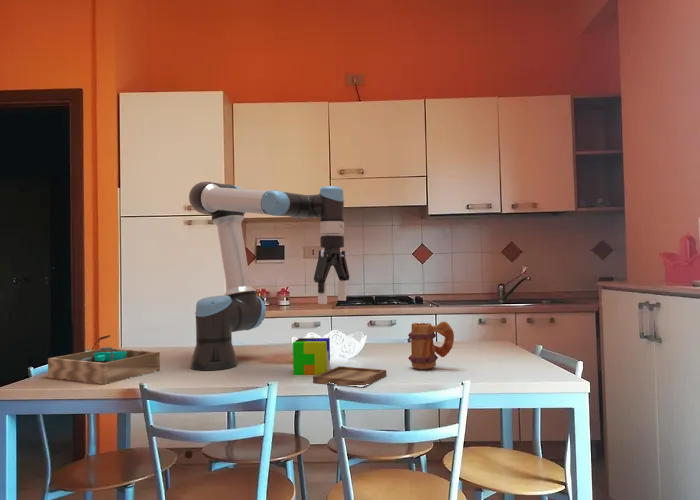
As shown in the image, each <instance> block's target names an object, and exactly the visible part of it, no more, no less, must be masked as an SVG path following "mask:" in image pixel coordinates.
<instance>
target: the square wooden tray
mask: <svg viewBox="0 0 700 500" xmlns="http://www.w3.org/2000/svg"><path fill="white" fill-rule="evenodd" d="M386 377H387V370H386V369H380V368H379V369H378V368H365V367H352V366H336V367H334V368H330V370H328V371H326V372H323V373H321V374H318V375H316V376H312V384H322V385H327V384H326V383H329V382H330V383H334V384H337V385H336V386H340V385H366V384H370V383H372V384H373V382H374V383H376V382H377V380H378V381H380V380H382V379H383V378H386ZM381 378H382V379H381ZM379 379H380V380H379ZM375 381H376V382H375ZM370 385H371V384H370Z"/></svg>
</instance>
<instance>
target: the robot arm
mask: <svg viewBox="0 0 700 500" xmlns="http://www.w3.org/2000/svg"><path fill="white" fill-rule="evenodd" d="M188 202H189V204H190V206H191V207H192V209H194V211H195V212H198V213H199V214H203V215H209V216H210V215H211V221H212V224H213V225H215V226H216V227H217V232H218V239H219V244H220V245H219V246H220V252H221V253H220V254H221V258H222V259H221V260H222V265H223V271H224V279H225V284H226V292H225V293H224V294H222V295H214V296H212V295H211V296H207V297H203V298H201V299H199V300H198V301H197V302H196V304H195V314H194V315H195V335H196V336H195V337H196V339H195V347H194V351H193V354H192V359H191V360H190V367H191V370H195V371H221V370H226V369H230V368H231V369H232V368H234V367H236V366H238V357H237V355H236V352H235V349H234V345H233V341H232V340H233V339H232V335H233V334H232V333H235V332H236V333H237V332H243V331H250V330H252V329H253V330H254V329H256V328H258V327H259V326H261V324H262V323H263V321H264V320H265V317H266V312H267V311H266V304H265V302H264V300H262V298H261V297H259V296H258V294H257V290H256V289H255V288H254V287H252V285H251V278H250V277H251V276H250V272H249V271H250V270H249V265H248V259H247V258H248V257H247V253H246V246H245V241H244V236H243V235H244V234H243V228H242V222H243V220H244V219H245V216H244V215H245V214H246V213H247V214H256V215H257V214H260V215H268V216H274V217H275V216H276V217H289V218H293V219H297V220H304V219H305V220H306V219H317V218H319V219H320V220H319V221H320V226H319V227H320V228H319V229H320V231H319V233H320V235H321V236H320V239H319V240H320V241H319V242H320V248H323V250H321V249H320V250H319V251H318V258H317V262H316V267H315V271H314V274H313V281H314V283H317V303H318V305H327V304H328V283H327V278H328V275H329V273H330V270H331V268H332V266H333V267H334V270H335V273H336V275H337V277H338V279H339V280H337V301H341V302H342V301H344V302H346V301H347V281H350V273H349V268H348V264H347V259H346V251H345V250H341V249H343V248H344V247H345V237H344V234H345V232H344V231H345V229H344V228H345V222H344V221H345V220H344V213H345V212H344V208H345V207H344V206H345V199H344V189H343V188H342V187H340V186H335V185H334V186H333V185H332V186H331V185H329V186H327V185H326V186H322V187H320V189H319V193H318V194H301V193H294V192H289V191H288V192H286V191H281V190H277V189H276V190H264V189H249V188H242V187H239V186H237V185H234V184H226V183H225V184H224V183H218V182H211V181H201V182H198V183H196V184H194V185H193V186H192V187H191V188H190V191H189V195H188Z"/></svg>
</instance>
